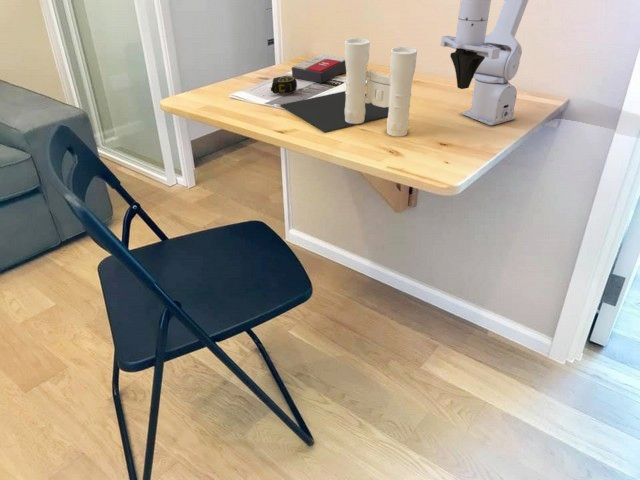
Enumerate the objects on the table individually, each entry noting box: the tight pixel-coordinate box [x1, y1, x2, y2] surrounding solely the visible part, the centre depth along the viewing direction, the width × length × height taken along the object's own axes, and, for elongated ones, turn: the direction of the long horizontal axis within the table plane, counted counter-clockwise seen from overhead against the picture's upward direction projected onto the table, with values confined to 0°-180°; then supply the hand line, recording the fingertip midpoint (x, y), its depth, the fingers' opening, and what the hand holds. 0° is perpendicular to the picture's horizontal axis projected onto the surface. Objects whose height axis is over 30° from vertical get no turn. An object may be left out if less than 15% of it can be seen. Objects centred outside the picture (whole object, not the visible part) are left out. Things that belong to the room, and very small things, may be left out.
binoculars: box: [344, 37, 418, 137], centre depth 116 cm, size 17×5×18 cm, turn 51°
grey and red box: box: [291, 53, 346, 84], centre depth 157 cm, size 11×4×15 cm
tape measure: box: [270, 75, 298, 94], centre depth 143 cm, size 7×7×4 cm
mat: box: [279, 90, 389, 133], centre depth 132 cm, size 22×23×1 cm
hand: (463, 87), depth 111 cm, fingers closed
